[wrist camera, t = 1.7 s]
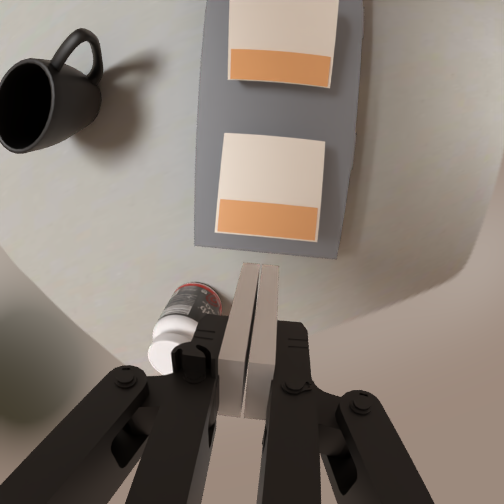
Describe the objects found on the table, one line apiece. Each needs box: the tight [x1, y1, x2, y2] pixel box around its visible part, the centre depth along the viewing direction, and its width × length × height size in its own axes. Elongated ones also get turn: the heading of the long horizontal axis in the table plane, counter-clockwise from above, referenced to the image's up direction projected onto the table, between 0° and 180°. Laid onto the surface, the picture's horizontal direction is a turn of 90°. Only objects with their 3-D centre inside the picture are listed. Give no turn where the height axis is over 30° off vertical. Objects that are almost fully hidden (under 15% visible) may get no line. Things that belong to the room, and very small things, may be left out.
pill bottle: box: [148, 282, 222, 375], centre depth 31 cm, size 6×6×10 cm
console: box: [194, 0, 364, 259], centre depth 22 cm, size 34×12×6 cm, turn 176°
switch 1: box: [228, 0, 339, 88], centre depth 18 cm, size 7×7×2 cm
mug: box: [0, 28, 103, 154], centre depth 23 cm, size 8×12×10 cm
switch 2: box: [215, 133, 325, 242], centre depth 23 cm, size 7×7×2 cm
